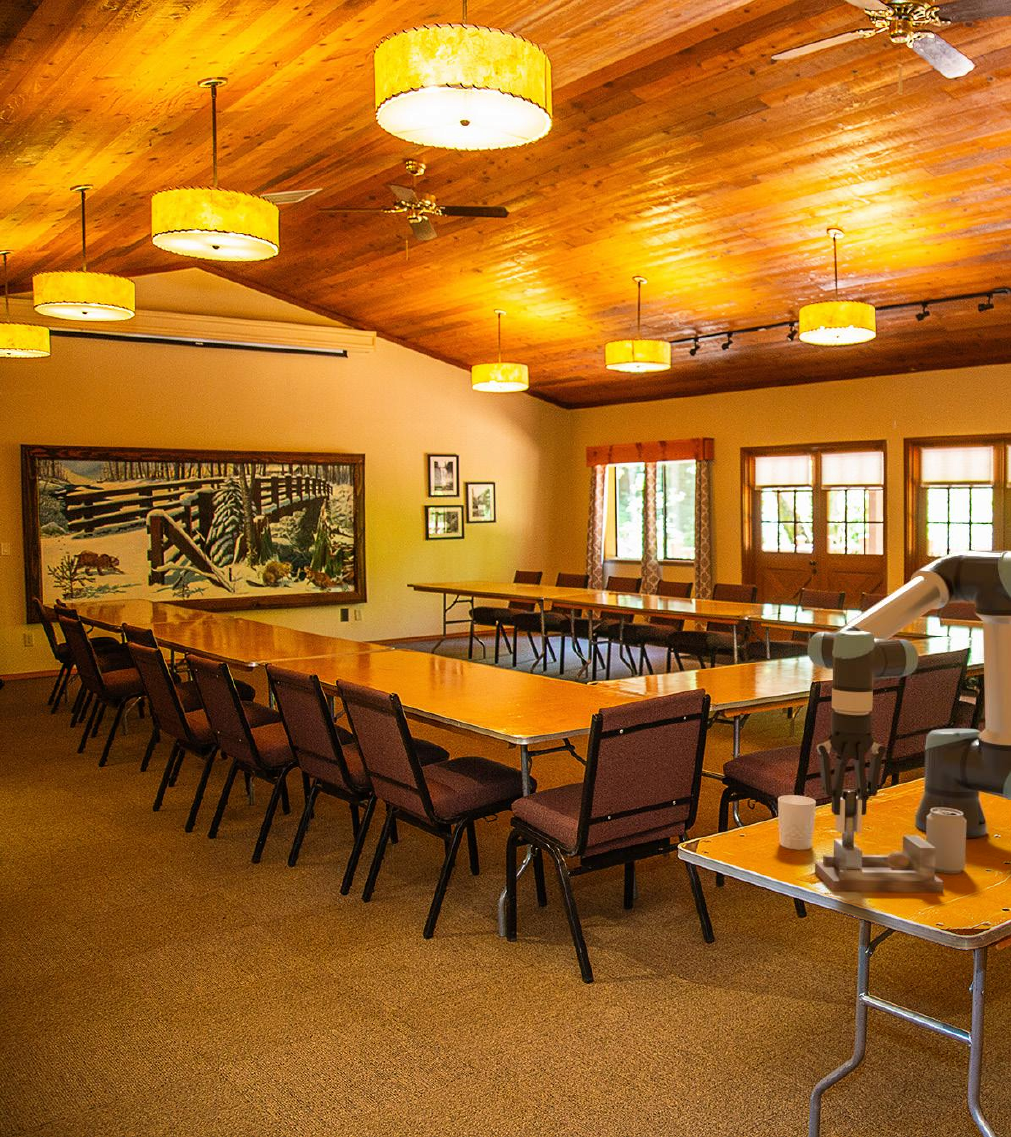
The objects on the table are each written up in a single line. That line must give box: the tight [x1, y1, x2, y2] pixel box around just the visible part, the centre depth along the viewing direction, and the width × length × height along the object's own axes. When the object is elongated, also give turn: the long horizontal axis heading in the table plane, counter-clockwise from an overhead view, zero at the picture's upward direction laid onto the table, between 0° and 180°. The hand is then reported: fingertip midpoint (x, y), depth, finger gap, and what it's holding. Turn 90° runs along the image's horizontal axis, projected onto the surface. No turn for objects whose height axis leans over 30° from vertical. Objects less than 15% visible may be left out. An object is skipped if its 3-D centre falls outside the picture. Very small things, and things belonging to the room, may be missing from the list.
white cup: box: [777, 794, 817, 851], centre depth 225 cm, size 8×8×10 cm
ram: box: [832, 789, 863, 870], centre depth 202 cm, size 3×7×16 cm, turn 1°
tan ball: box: [887, 850, 909, 871], centre depth 202 cm, size 4×4×4 cm
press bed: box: [814, 834, 944, 893], centre depth 202 cm, size 21×11×8 cm, turn 91°
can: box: [925, 807, 967, 875], centre depth 210 cm, size 8×8×12 cm
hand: (848, 830), depth 202 cm, fingers closed on ram, 3 cm apart
